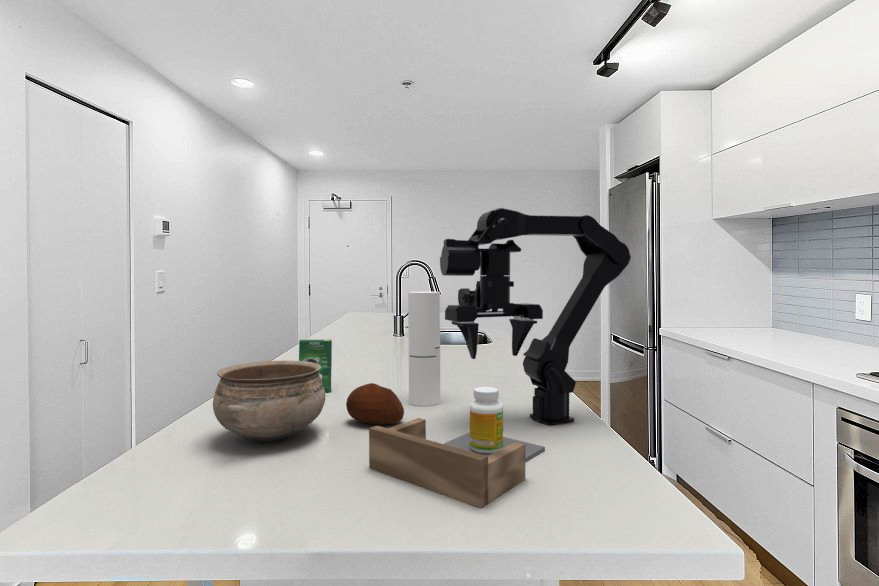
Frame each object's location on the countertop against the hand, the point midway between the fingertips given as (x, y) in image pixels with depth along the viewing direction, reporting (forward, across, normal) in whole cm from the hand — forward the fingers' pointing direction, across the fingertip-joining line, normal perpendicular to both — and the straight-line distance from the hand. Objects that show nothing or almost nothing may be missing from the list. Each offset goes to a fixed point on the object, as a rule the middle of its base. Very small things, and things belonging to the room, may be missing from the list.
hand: (494, 357), depth 94 cm
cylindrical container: (+13, +6, -21) cm, 26 cm away
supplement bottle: (+13, +9, +12) cm, 20 cm away
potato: (+14, +21, -10) cm, 27 cm away
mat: (+13, +8, +12) cm, 19 cm away
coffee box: (+14, +26, -41) cm, 51 cm away
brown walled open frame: (+13, +18, +17) cm, 28 cm away
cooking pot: (+14, +40, -10) cm, 43 cm away
